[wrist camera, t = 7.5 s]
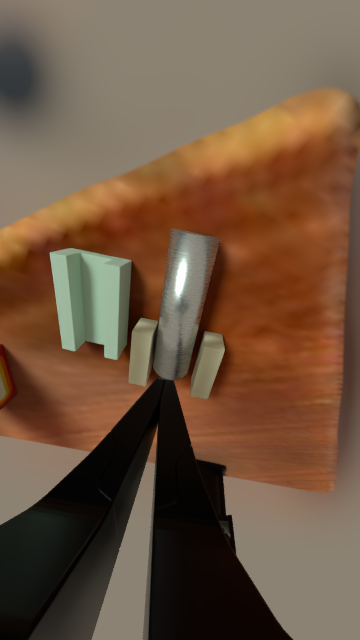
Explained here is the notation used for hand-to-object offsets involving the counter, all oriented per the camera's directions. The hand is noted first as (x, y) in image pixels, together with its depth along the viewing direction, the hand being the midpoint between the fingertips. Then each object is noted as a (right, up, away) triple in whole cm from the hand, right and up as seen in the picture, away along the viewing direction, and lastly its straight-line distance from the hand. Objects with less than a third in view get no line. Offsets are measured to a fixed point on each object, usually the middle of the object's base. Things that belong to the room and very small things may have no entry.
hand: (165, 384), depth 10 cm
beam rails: (0, 0, +13) cm, 13 cm away
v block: (-8, +5, +11) cm, 15 cm away
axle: (+1, +5, +11) cm, 12 cm away
